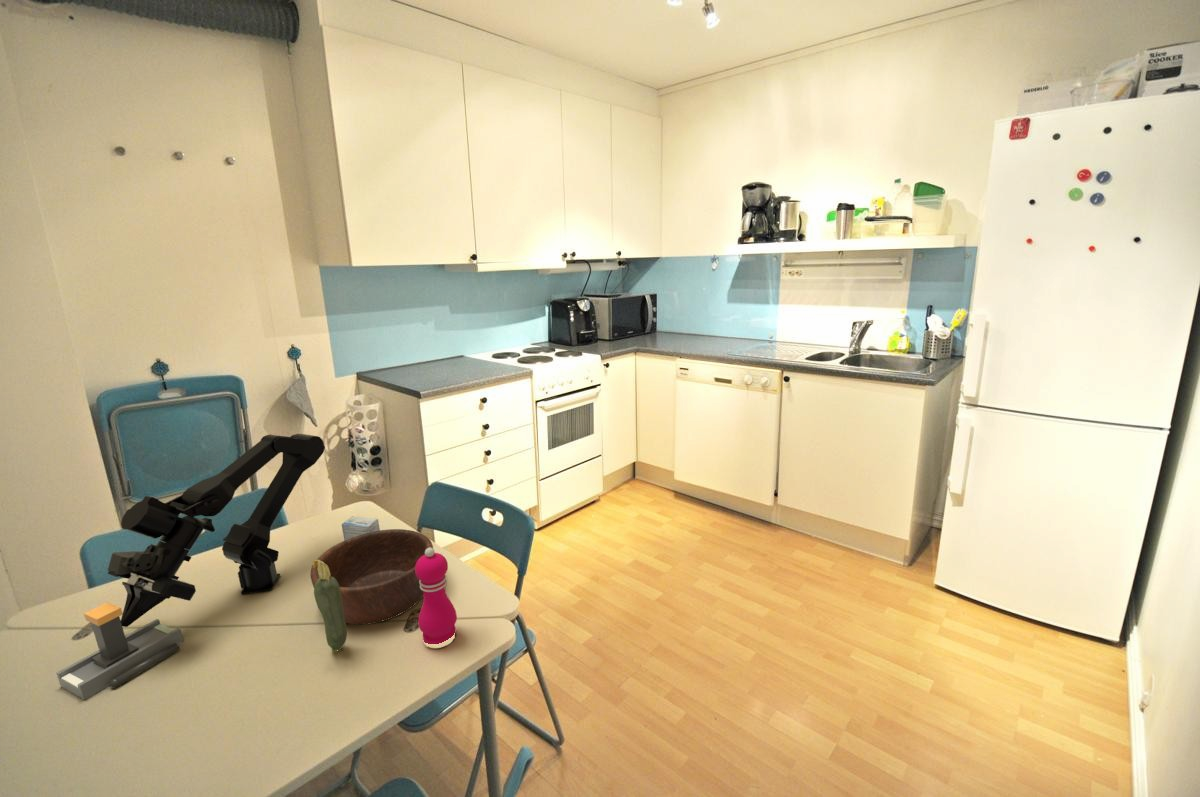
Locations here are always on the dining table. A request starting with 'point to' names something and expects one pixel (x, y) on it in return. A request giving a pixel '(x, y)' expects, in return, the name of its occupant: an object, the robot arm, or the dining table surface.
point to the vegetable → (330, 606)
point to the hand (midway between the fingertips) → (123, 626)
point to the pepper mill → (435, 599)
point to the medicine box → (359, 526)
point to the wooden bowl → (376, 573)
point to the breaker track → (122, 661)
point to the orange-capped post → (109, 635)
